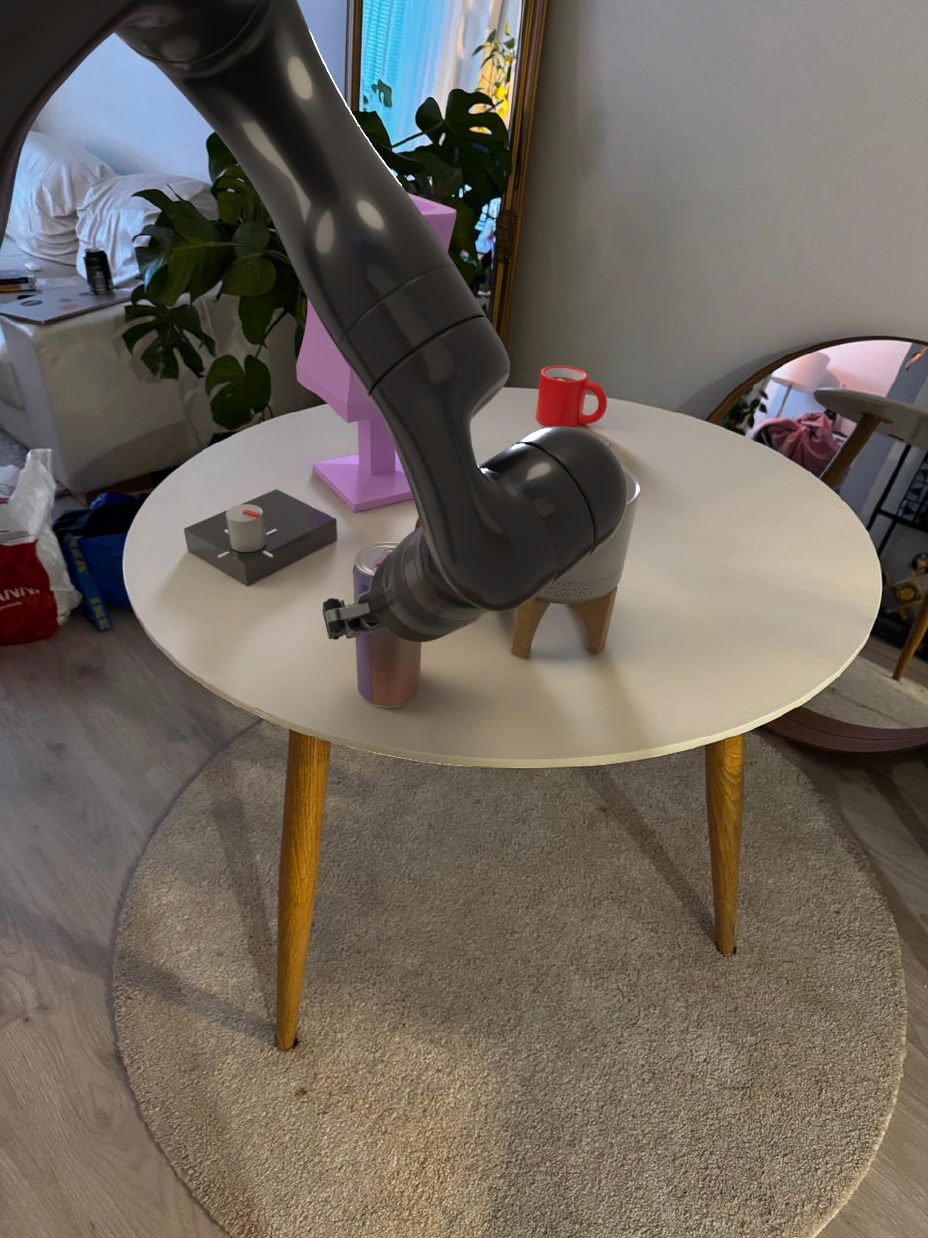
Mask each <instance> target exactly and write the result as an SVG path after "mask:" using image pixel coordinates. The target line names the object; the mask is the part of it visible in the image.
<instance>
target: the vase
mask: <svg viewBox="0 0 928 1238" xmlns="http://www.w3.org/2000/svg"><path fill="white" fill-rule="evenodd" d="M407 194H408V195H409V197H410V198H411V199H412V201H413V202H414V203H415V205H416V206H417V208H418V209H419V211H420V212H421V213H422V215H423V216H424V218H425V219H426V221H427V222H428V224H429V225H430V227H431V228H432V230H433V231H434V233H435V234H436V236H437V237H438V239H439V240H440V242H441V243H442V245H443V246H444V248H445V249H446V251H447V253H448V254H449V247H450V243H451V240H452V235H453V231H454V229H455V228H454V227H455V223H456V219H457V213H458V212H457V210H456V209H455V208H452V207H450V206H447V205H444V204H441V203H438V202H436V201H432V200H429V199H427V198H423V197H421V196H417V195H414V194H412V193H409V192H407ZM295 369H296V370H295V371H296V381H297V382H298V383H299V384H300V385H302V386H303V387H304V388H305V389H307V390H308V391H311V392H312V393H314V394H316V395H317V396H318V397H319V398H320V399H322V400H323V401H324V402H325V403H326V404H327V405H328V406H329V407H330V408H331V409H332V410H333V412H334V413H335V414H336V415H337V416H338V417H340V418H341V419H342V420H343V421H345V422H346V423H347V424H349V423H356V422H357V446H358V447H357V448H358V449H357V451H358V452H357V453H356V454H351V455H346V456H340V457H335V458H330V459H326V460H325V459H324V460H320V461H316V462H312V463H311V465H312V472H314V473H315V475H317V477H319V478H320V479H321V480H322V482H324V484H325V485H327V487H328V488H330V489H331V491H333V492H334V493H335V495H337V497H338V498H339V499H341V501H343V502H344V504H346V506H347V507H348V508H349V509H350V510H351V511H352V512H353V513H357V512H363V511H366V510H371V509H375V508H379V507H383V506H387V505H391V504H396V503H400V502H404V501H408V500H413V496H412V493H411V490H410V487H409V484H408V481H407V478H406V476H405V473H404V470H403V468H402V465H401V463H400V460H399V457H398V455H397V452H396V450H395V447H394V445H393V442H392V440H391V437H390V435H389V432H388V430H387V428H386V426H385V423H384V421H383V419H382V417H381V416H380V414H379V412H378V411H377V409H376V408H375V406H374V404H373V403H372V401H371V400H370V397H369V396H368V395H367V394H366V392H365V391H364V389H363V387H362V386H361V384H360V383H359V381H358V380H357V378H356V377H355V375H354V373H353V372H352V370H351V369H350V367H349V366H348V364H347V363H346V361H345V359H344V358H343V356H342V355H341V353H340V351H339V350H338V348H337V347H336V345H335V344H334V342H333V340H332V339H331V337H330V336H329V334H328V333H327V331H326V329H325V327H324V326H323V324H322V322H321V321H320V319H319V317H318V316H317V314H316V312H315V310H314V308H313V307H312V305H311V303H310V301H309V299H308V298H307V313H306V321H305V329H304V334H303V338H302V343H301V346H300V350H299V354H298V357H297V360H296V364H295Z"/></svg>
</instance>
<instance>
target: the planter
mask: <svg viewBox="0 0 928 1238" xmlns="http://www.w3.org/2000/svg"><path fill="white" fill-rule="evenodd" d="M621 466H622V469H623V472H624V475H625V479H626V484H627V506H626V511H625V515H624V517H623V520H622V522H621V524H620V527H619V528H618V530H617V532H616V533H615V534H614V536H613V537H612V538H611V539H610V540H609V541H608V542H607V543H606V544H605V545H604V546H603V547H601V548H600V549H599V550H598V551H596V552H595V553H593V554H592V555H591V556H589V557H588V558H587V559H585V560H584V561H582V562H581V563H580V564H578V565H577V566H576V567H574V568H573V569H572V570H570V571H569V572H568V573H566V574H565V575H563V576H562V577H561V578H559V579H558V580H557V581H555V582H554V583H553V584H551V585H550V586H549V587H547V588H546V589H545V590H543V591H542V592H541V593H539V594H538V595H537V596H535V597H534V598H532V599H531V600H530V601H528V602H527V603H525V604H524V605H522V606H520V607H518V608H516V612H515V620H514V628H513V636H512V645H511V651H510V652H511V653H510V654H512V655H513V656H516V657H518V658H519V659H522V660H524V659H526V658H527V657H528V655H530V653H531V648H532V644H533V642H534V641H533V640H534V637H535V635H536V632H537V629H538V627H539V625H540V623H541V620H542V618H543V617H544V615H545V613H546V611H547V609H548V608H549V607H550V605H551V604H555V605H556V604H557V605H570V607H571V608H572V609H574V611H575V612H576V613H577V615H578V616H579V618H580V619H581V621H582V622H583V625H584V627H585V630H586V635H587V641H588V645H587V650H589V651H591V652H593V653H596V654H597V655H598V654H600V653H601V652H602V651H603V650H604V648H606V644H607V638H608V634H609V630H610V624H611V621H612V616H613V611H614V607H615V601H616V597H617V593H618V588H619V587H618V585H619V584H620V582H621V579H622V575H623V571H624V566H625V562H626V559H627V553H628V548H629V544H630V540H631V535H632V531H633V526H634V521H635V517H636V513H637V508H638V503H639V498H640V493H641V483H640V482H639V479H638V478H637V476H636V475H635V474H634V473H633V472H632V471H631V470H629V469H628V468H627V467H626V466H624V465H622V464H621Z"/></svg>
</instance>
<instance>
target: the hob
mask: <svg viewBox="0 0 928 1238" xmlns="http://www.w3.org/2000/svg"><path fill="white" fill-rule="evenodd" d="M242 504H250V505H255V506H258V507H260V508H261V509H262V511H263V518H264V527H265V536H266V544H265V546H264V547H263V548H261V549H259V550H257V551H253V552H239V551H236V550H234V549H233V548H232V547H231V546H230V540H229V534H228V527H227V520H226V512H227V510H228V509H226V510H224V511H221V512H219V513H216V514H215V515H212V516H210V517H208V518H206V519H203V520H200V521H198V522H195V523H193V524H191V525H189V526H187V527H184V528H183V533H184V538H185V544H186V549H187V551H188V552H190V553H192V554H193V555H194V556H197V558H200V559H201V560H203V561H205V562H206V563H208V564H210V565H211V566H213V567H215V568H216V569H218V570H220V571H222V573H225V574H226V575H228V576H229V577H231V578H232V579H235V580H236V581H238V582H240V583H241V584H243V585H244V586H246V587H248V586H250V585H252V584H254V583H256V582H258V581H261V580H262V579H264V578H266V577H268V576H270V575H272V574H274V573H276V572H277V571H279V570H281V569H283V568H285V567H287V566H289V565H291V564H293V563H295V562H296V561H298V560H300V559H302V558H304V557H306V556H308V555H310V554H312V553H314V552H317V551H318V550H320V549H322V548H324V547H326V546H328V545H330V544H332V543H334V542H335V541H337V540H338V525H337V524H338V523H337V518H336V517H334V516H332V515H330V514H328V513H326V512H324V511H322V510H320V509H318V508H316V507H314V506H312V505H310V504H308V503H306V502H304V501H302V500H300V499H298V498H295V497H294V496H291V495H290V494H287V493H286V492H283V491H282V490H279V489H277V488H276V489H273V490H271V491H269V492H266V493H263V494H261V495H259V496H257V497H255V498H252V499H250V500H248V501H245V502H243V503H241V504H239V505H242Z"/></svg>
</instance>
